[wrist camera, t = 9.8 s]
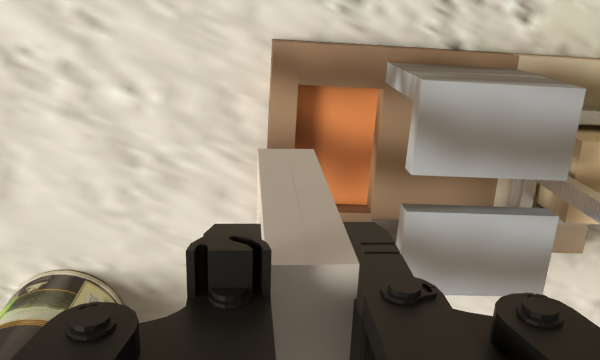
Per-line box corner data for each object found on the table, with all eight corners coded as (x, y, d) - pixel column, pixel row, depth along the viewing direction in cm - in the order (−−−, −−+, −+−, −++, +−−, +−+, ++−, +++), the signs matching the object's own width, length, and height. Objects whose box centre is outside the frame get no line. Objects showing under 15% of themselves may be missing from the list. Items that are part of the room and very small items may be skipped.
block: (541, 122, 45) (582, 141, 39) (613, 126, 45) (665, 145, 40) (527, 195, 47) (564, 223, 41) (597, 197, 47) (644, 225, 41)
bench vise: (272, 38, 44) (278, 54, 32) (607, 58, 46) (722, 79, 35) (263, 232, 49) (266, 305, 37) (567, 241, 51) (656, 311, 40)
